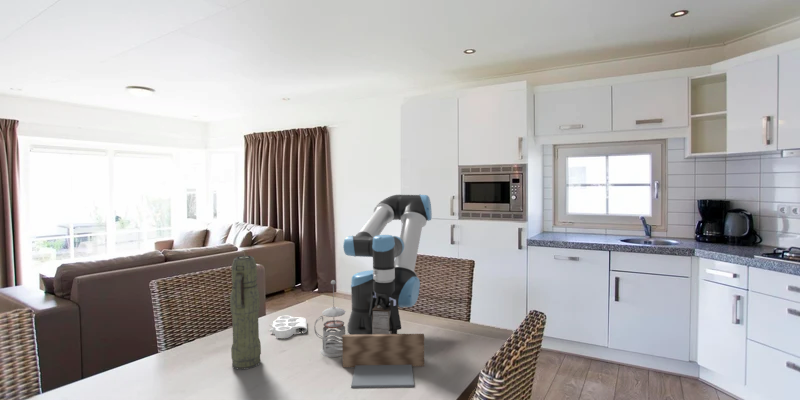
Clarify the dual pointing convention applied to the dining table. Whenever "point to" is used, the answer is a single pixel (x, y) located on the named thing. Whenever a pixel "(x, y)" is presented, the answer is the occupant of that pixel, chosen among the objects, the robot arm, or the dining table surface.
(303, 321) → the white flat lobed piece
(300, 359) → the dining table surface
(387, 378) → the grey mat
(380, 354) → the walnut board
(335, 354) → the french press
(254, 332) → the green canvas bag
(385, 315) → the coffee box
